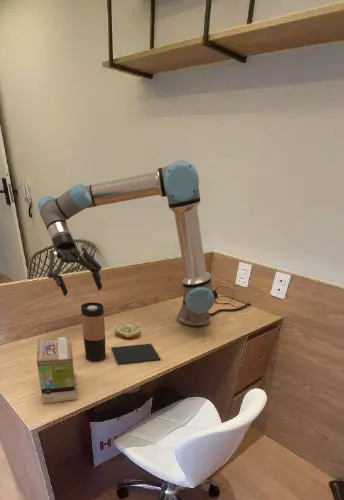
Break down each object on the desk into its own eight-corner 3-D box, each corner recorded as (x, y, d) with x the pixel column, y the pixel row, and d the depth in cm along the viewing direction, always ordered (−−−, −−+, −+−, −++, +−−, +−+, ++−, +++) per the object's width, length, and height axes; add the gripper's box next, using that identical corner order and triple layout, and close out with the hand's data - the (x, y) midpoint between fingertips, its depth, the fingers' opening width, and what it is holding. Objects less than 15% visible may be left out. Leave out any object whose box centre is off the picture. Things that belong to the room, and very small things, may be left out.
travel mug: (96, 350, 131) (92, 300, 120) (110, 356, 128) (108, 306, 117) (81, 357, 126) (75, 306, 115) (95, 364, 122) (91, 312, 111)
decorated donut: (129, 342, 139) (129, 333, 137) (110, 334, 144) (109, 326, 142) (145, 334, 146) (145, 326, 144) (126, 327, 151) (126, 319, 149)
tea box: (77, 400, 104) (72, 357, 96) (42, 404, 101) (34, 361, 93) (74, 374, 116) (70, 335, 108) (43, 377, 113) (36, 337, 105)
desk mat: (150, 344, 138) (150, 343, 138) (160, 360, 128) (160, 358, 128) (111, 348, 133) (111, 347, 133) (118, 365, 123) (118, 363, 123)
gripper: (90, 242, 134) (110, 290, 133) (26, 247, 121) (48, 301, 119) (95, 230, 128) (117, 281, 127) (29, 234, 114) (52, 291, 113)
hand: (83, 291), depth 123 cm, fingers open, 13 cm apart
